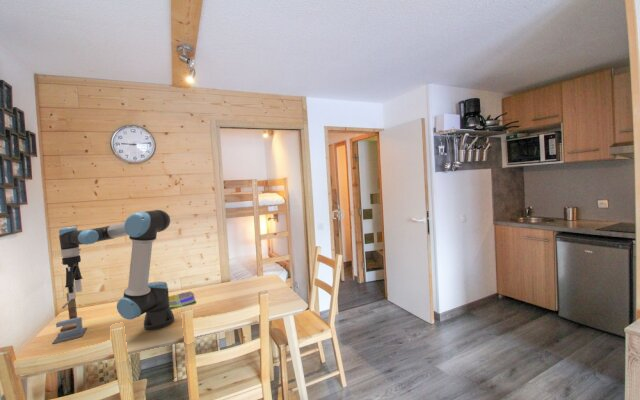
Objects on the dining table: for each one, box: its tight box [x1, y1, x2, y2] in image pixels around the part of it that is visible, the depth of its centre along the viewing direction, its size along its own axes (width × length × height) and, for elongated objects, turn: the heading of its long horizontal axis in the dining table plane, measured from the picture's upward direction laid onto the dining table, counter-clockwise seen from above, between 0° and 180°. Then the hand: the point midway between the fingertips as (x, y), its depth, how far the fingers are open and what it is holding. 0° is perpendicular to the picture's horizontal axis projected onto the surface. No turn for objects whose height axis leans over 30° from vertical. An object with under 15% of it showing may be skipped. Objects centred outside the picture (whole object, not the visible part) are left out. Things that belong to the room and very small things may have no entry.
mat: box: [52, 327, 88, 345], centre depth 158 cm, size 12×12×1 cm
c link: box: [55, 316, 84, 339], centre depth 158 cm, size 10×2×8 cm, turn 119°
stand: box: [59, 292, 83, 333], centre depth 169 cm, size 18×7×18 cm, turn 28°
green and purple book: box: [169, 291, 197, 311], centre depth 198 cm, size 18×24×3 cm
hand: (75, 295), depth 159 cm, fingers open, 13 cm apart
